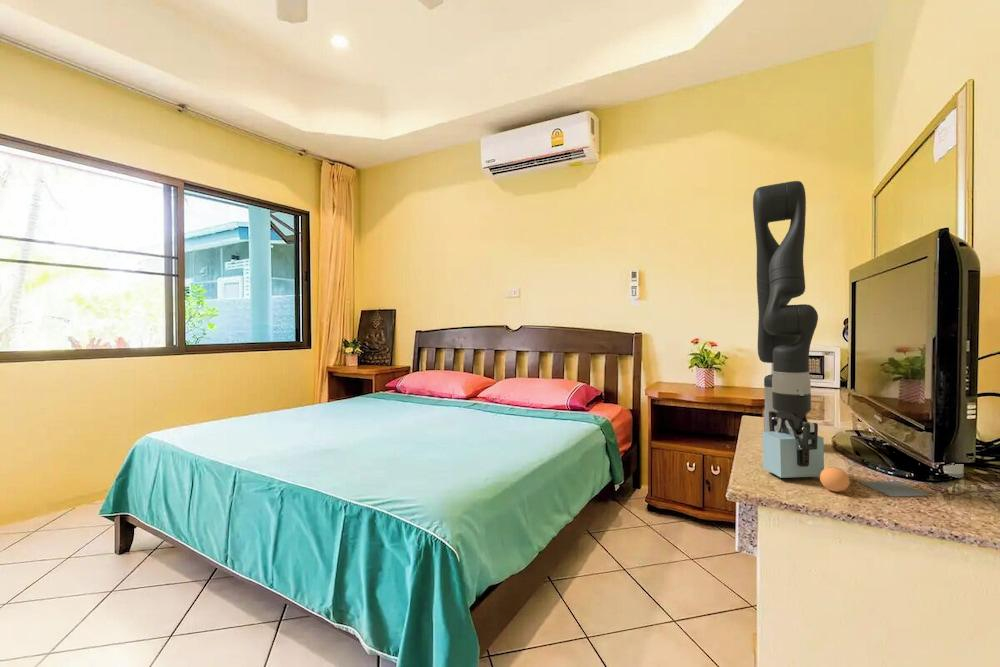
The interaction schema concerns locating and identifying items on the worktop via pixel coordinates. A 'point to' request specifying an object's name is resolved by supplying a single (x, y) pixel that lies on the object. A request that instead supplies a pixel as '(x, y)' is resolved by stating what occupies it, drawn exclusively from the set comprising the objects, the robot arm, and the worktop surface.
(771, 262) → the robot arm
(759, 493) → the worktop surface
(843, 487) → the ball
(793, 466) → the light blue block
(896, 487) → the plate
